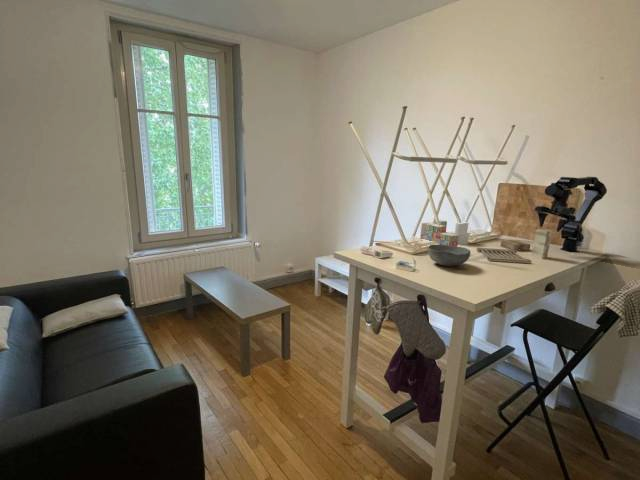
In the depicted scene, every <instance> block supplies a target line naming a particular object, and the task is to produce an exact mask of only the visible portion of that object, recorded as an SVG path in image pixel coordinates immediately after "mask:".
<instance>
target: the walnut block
mask: <svg viewBox="0 0 640 480" xmlns="http://www.w3.org/2000/svg"><path fill="white" fill-rule="evenodd" d="M500 247H501V248H503V249H507V250H509V251H512V250H516V251H515V252H527V251H529V252H530V249H531V243H527V242H525V241H520V240H518V239H502V240H501V241H500Z"/></svg>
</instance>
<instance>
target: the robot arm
mask: <svg viewBox="0 0 640 480" xmlns="http://www.w3.org/2000/svg"><path fill="white" fill-rule="evenodd" d="M579 186H580V187H581V186H584V187H583V189H584V198H585V199H584V200H583V202H582V204H581V205H580V206H579V208H578V210H577V209H576V208H575V207H572V206H570V207H568V200H569V198H570V195H571V196H572V195H573V192H572V190H571V189H576V188H578V187H579ZM607 191H608V190H607V187H606V185H605V184H604V183H603V182H601V180H599V178H598V177H596V176H585V177H584V176H583V177H572V176H571V177H570V176H561V177H560V178H559V179H558V180H557V181H556V182H551V183H550V185H548V186H547V187H546V188H545V189H544V194H545V195H546V196H549V197H551V198H552V199H553V201H551V202H550V204H551V206H550V208H549V207H547V206H543V205H537V206H535V209H534V212H536V214H537V217H538V221H539V222H538V223H539V227H540V228H542V227H543V226H544V223H545V220H546V218H547V217H548V215H553V216H556V217H560V218H559V220H558V223H557V228H556V232H560V233H561V239H564V241H563V243H562V247H560V248H559V249H560V250H563V251H565V252H570V253H571V252H572V253H573V252H574V253H575V252H576V253H579V252H580V250H578V247H579V242H583V241H584V238H585V236H584V235H583V224H584V222H585V220H586V218H587V217H588V215H589V213H590V212H591V210H592V209H593V207H594V205H595V204H596V202H599V201H601V200H603V198H604V196H605V195H606V194H607ZM576 211H577V212H576Z"/></svg>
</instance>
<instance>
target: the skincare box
mask: <svg viewBox="0 0 640 480" xmlns="http://www.w3.org/2000/svg"><path fill="white" fill-rule="evenodd" d="M435 220H436V219H434V222H433V223H434V224H437V222H436V221H435ZM438 220H439V223H440V225H443V226H446V227H447V225H448V221H447V220H443V219H438ZM445 232H447V230H446V231H445Z"/></svg>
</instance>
